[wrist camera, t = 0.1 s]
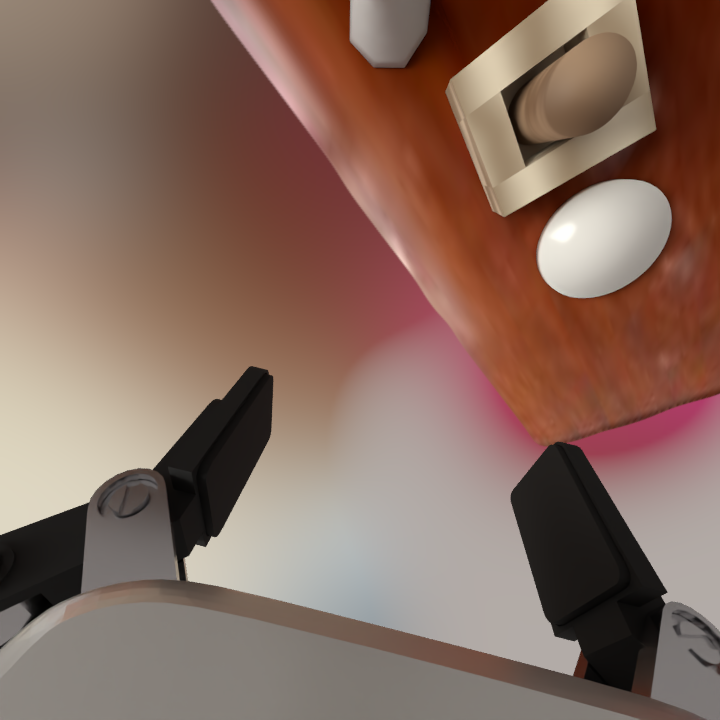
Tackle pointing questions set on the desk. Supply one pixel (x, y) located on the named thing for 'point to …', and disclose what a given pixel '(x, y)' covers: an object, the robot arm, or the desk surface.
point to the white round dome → (603, 237)
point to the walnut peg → (575, 91)
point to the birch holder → (516, 67)
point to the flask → (388, 29)
